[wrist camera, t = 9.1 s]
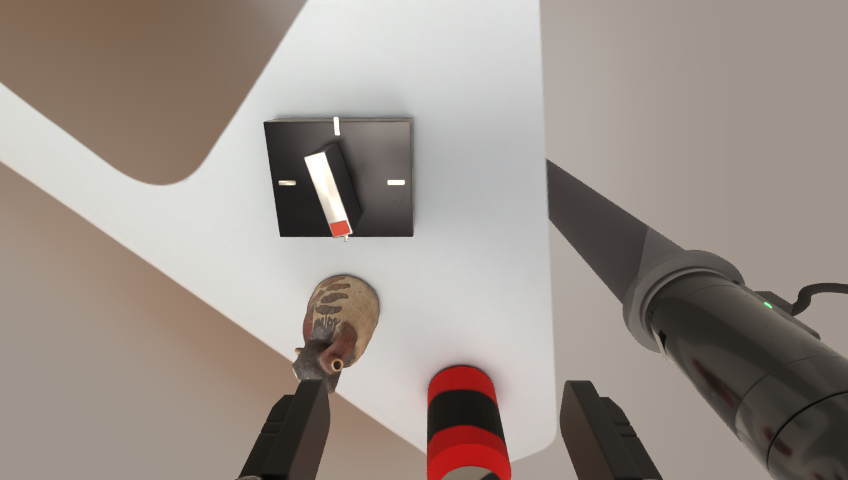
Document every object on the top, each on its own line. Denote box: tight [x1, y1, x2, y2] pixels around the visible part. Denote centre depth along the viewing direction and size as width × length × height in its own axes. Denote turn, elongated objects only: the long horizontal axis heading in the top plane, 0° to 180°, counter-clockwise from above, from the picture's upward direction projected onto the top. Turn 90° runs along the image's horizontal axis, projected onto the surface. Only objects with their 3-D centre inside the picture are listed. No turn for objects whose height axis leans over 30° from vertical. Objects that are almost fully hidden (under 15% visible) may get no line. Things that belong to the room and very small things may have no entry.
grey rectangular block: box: [304, 143, 362, 238], centre depth 32 cm, size 6×2×5 cm, turn 15°
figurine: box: [292, 275, 379, 394], centre depth 37 cm, size 7×7×12 cm
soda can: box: [427, 366, 511, 480], centre depth 41 cm, size 8×8×12 cm
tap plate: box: [264, 117, 414, 241], centre depth 36 cm, size 12×11×3 cm
